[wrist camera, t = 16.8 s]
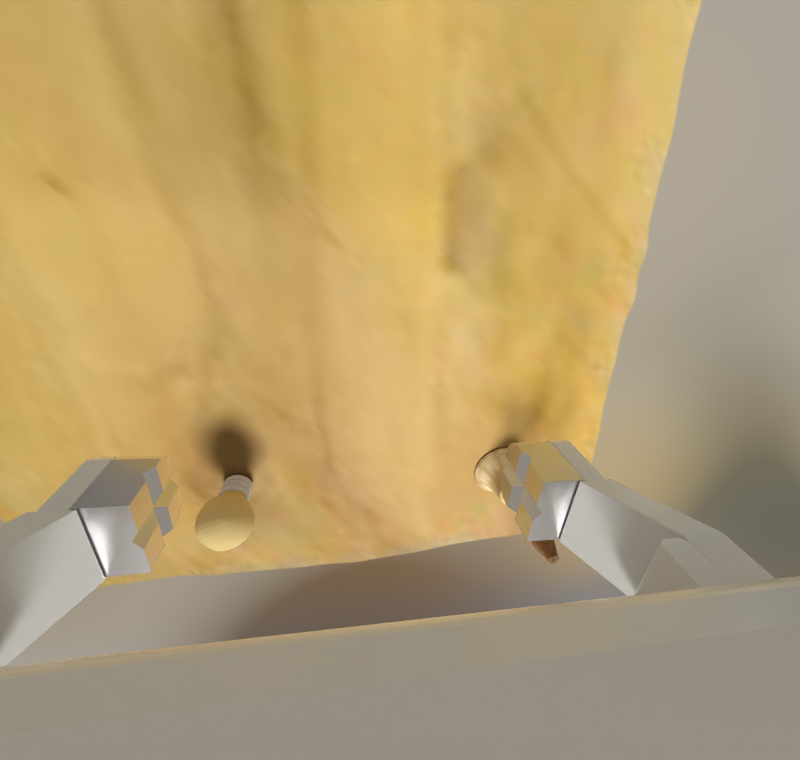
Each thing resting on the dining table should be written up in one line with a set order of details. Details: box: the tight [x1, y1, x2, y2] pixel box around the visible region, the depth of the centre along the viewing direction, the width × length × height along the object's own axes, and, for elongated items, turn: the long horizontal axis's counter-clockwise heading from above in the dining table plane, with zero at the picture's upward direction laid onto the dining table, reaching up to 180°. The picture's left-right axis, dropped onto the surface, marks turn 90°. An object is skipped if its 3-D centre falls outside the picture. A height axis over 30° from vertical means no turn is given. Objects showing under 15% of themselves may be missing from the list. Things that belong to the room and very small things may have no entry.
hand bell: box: [475, 448, 559, 563], centre depth 50 cm, size 8×8×16 cm
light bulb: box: [195, 475, 254, 551], centre depth 47 cm, size 6×6×10 cm
